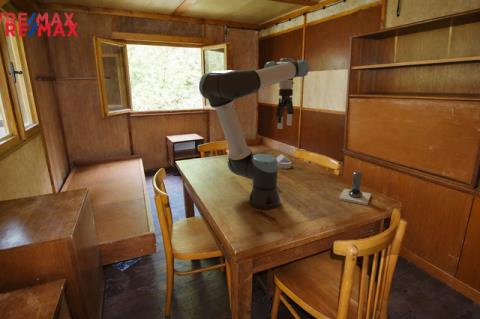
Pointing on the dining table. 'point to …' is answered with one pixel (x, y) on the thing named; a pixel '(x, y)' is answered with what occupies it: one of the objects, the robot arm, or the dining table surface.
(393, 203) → the dining table surface
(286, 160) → the wedge on round base
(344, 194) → the pad
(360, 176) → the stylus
